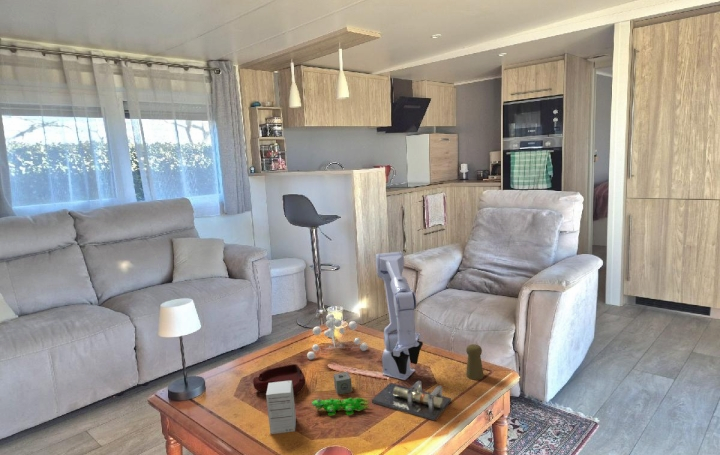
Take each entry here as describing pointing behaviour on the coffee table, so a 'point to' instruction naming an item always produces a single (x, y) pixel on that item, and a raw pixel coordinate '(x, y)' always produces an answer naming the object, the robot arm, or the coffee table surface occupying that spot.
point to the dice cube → (342, 383)
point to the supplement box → (281, 407)
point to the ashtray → (281, 378)
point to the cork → (474, 362)
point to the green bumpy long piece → (341, 405)
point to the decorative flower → (330, 332)
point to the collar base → (409, 405)
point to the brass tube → (417, 397)
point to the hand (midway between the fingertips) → (408, 368)
